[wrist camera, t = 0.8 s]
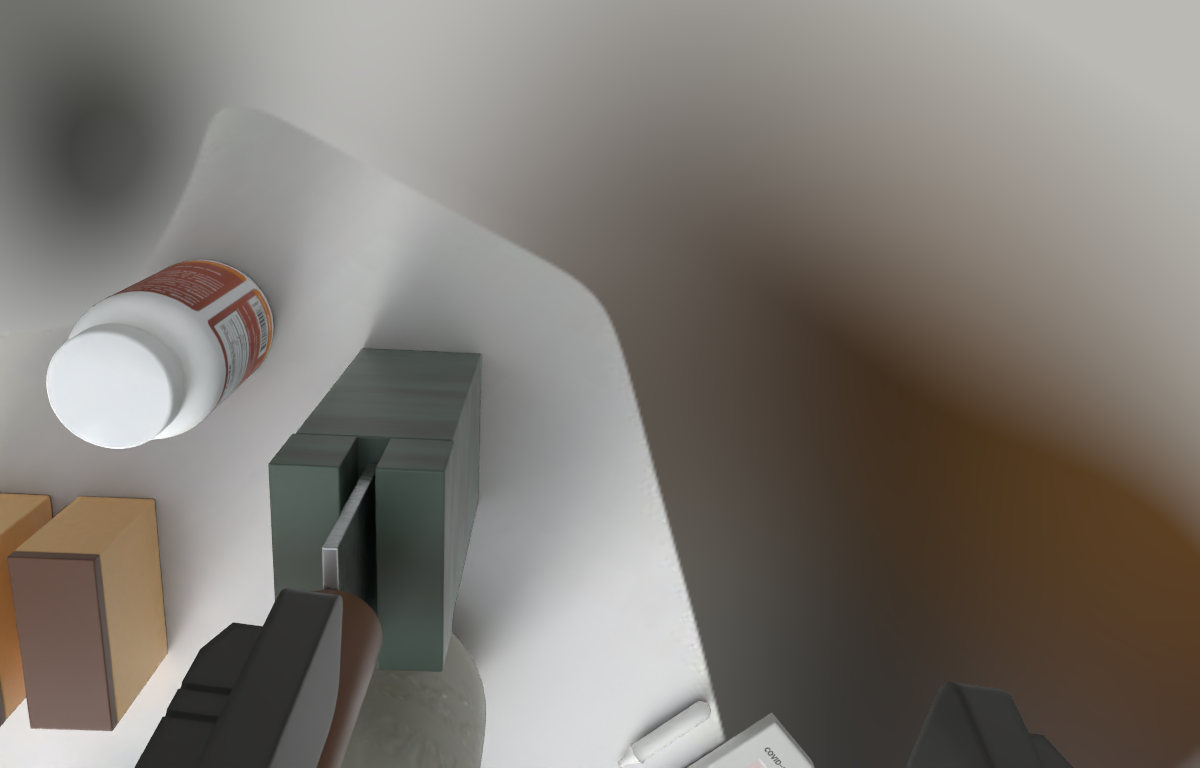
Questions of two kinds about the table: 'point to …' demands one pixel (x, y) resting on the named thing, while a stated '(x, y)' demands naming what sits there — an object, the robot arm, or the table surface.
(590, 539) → the table surface
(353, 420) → the knife block
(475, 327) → the table surface
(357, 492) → the brown-handled kitchen knife
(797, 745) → the covid test kit
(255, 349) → the pill bottle
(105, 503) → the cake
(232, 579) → the table surface
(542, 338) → the table surface
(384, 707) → the glass bottle
